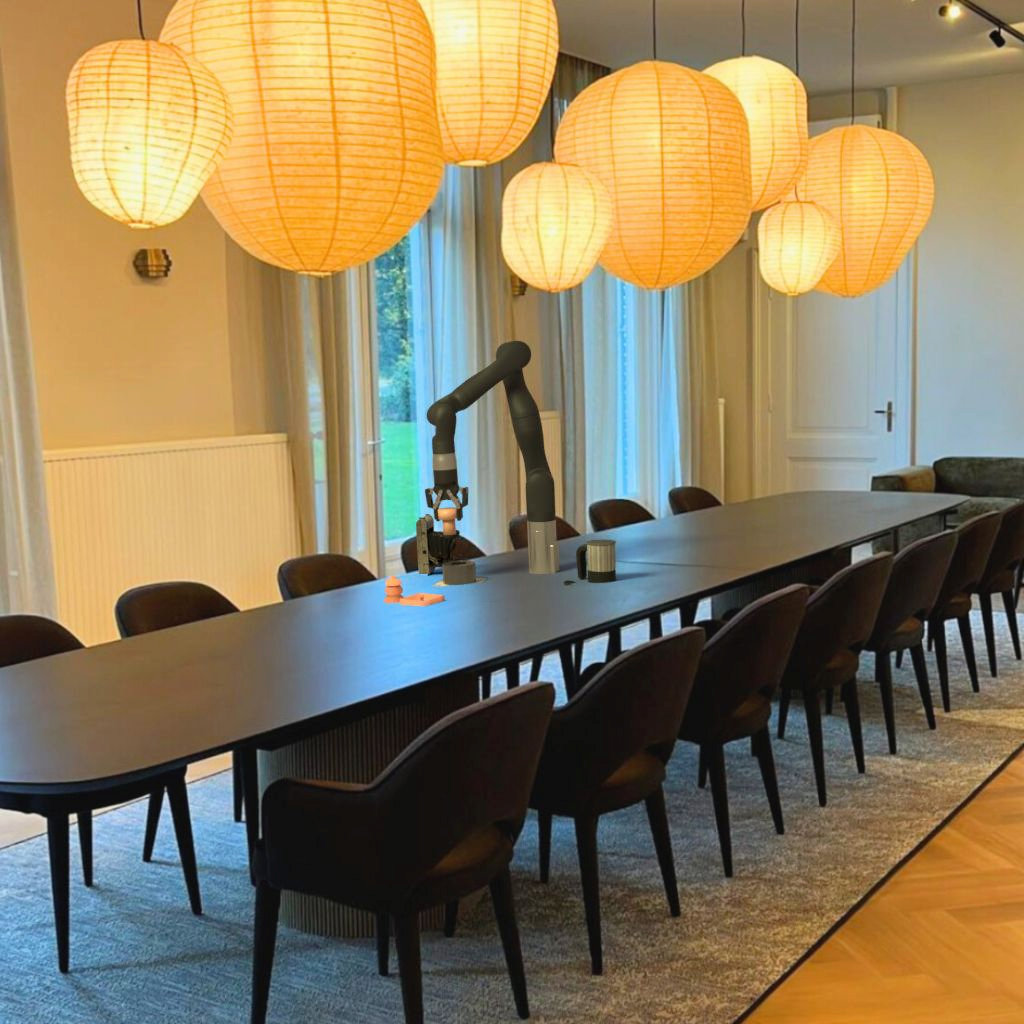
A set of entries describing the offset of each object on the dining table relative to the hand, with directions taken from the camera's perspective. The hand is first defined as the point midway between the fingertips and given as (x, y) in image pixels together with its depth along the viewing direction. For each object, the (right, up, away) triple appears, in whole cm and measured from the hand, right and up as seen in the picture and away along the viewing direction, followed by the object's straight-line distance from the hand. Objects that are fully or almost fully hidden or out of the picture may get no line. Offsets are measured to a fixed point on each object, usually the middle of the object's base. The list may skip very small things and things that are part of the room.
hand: (448, 520), depth 412 cm
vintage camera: (-3, -18, +24) cm, 30 cm away
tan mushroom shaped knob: (0, -4, 0) cm, 4 cm away
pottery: (-10, -26, -30) cm, 41 cm away
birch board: (+3, -21, +2) cm, 21 cm away
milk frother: (+44, -21, -13) cm, 50 cm away
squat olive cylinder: (+3, -19, +2) cm, 20 cm away
